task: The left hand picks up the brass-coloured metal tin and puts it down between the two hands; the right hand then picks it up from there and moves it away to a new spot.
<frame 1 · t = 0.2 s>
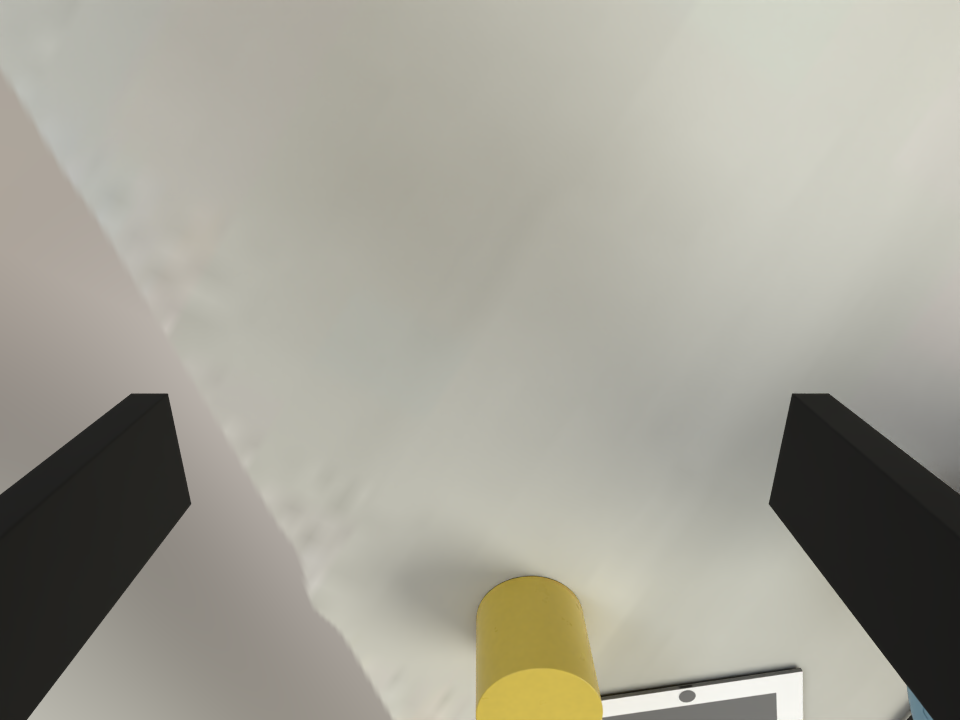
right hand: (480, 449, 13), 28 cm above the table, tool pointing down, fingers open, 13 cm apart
tin: (529, 618, 50), on the table
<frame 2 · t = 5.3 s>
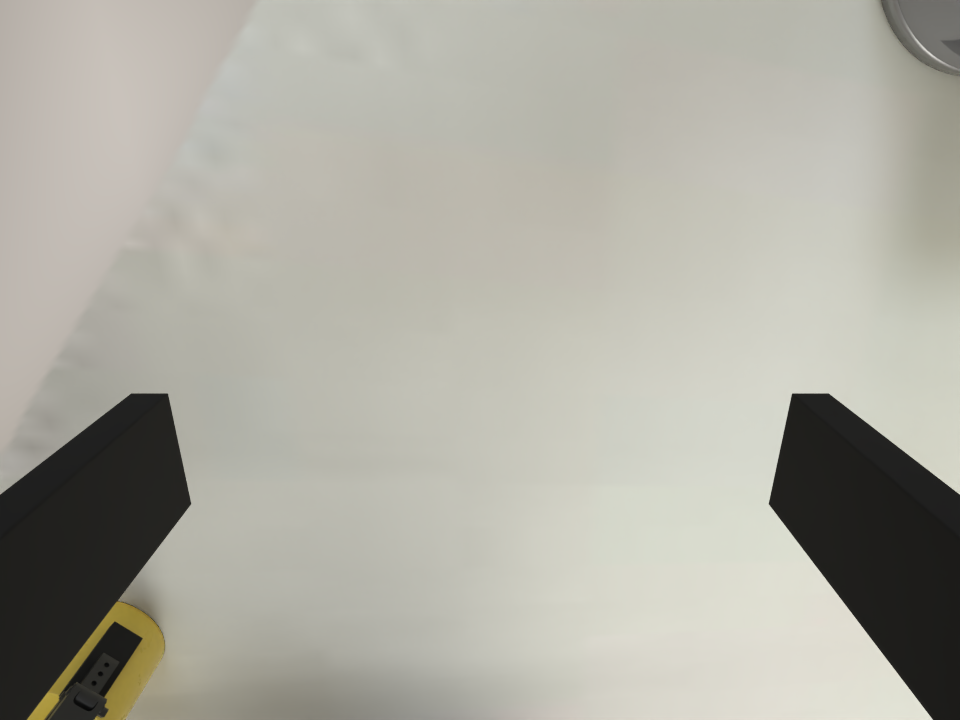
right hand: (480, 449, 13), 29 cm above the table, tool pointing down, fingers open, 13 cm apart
tin: (114, 638, 53), on the table, touching left hand
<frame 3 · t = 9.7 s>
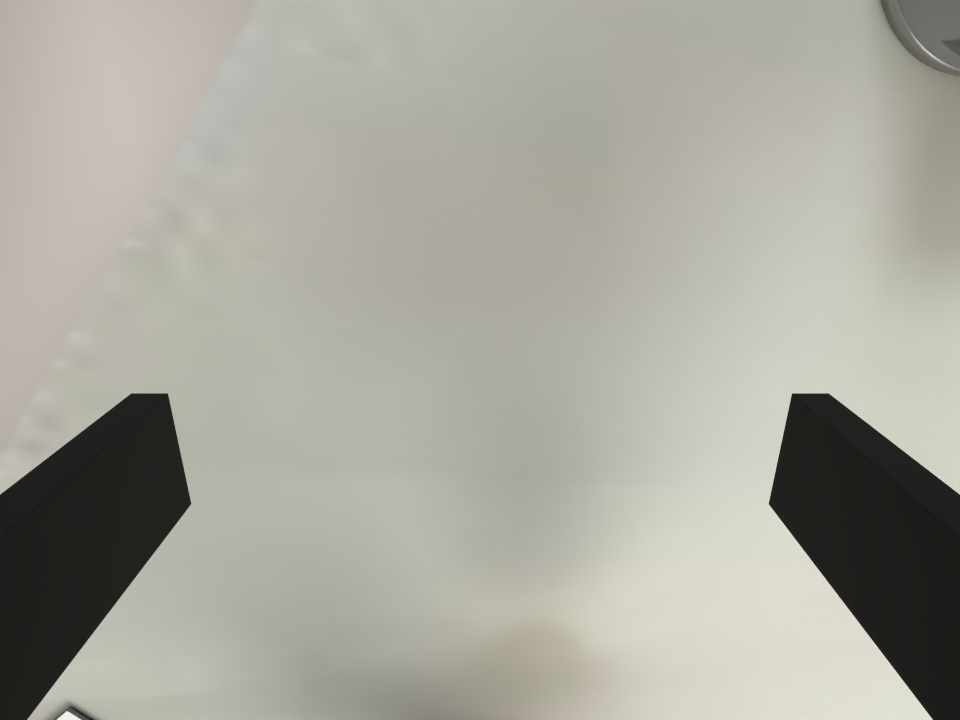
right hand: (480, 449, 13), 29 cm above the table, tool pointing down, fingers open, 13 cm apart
when the left hand's fingers open (4 cm above the table, at t = 14.0 s): tin drops 2 cm, on the table.
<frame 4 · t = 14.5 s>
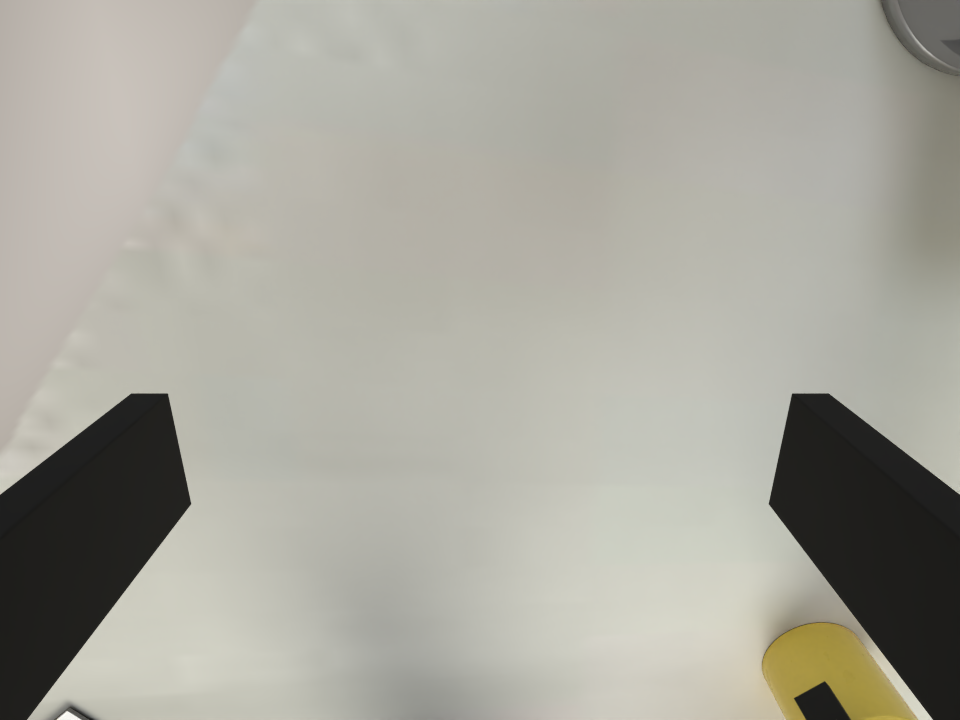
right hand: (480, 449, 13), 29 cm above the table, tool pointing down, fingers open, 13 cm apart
tin: (811, 660, 54), on the table
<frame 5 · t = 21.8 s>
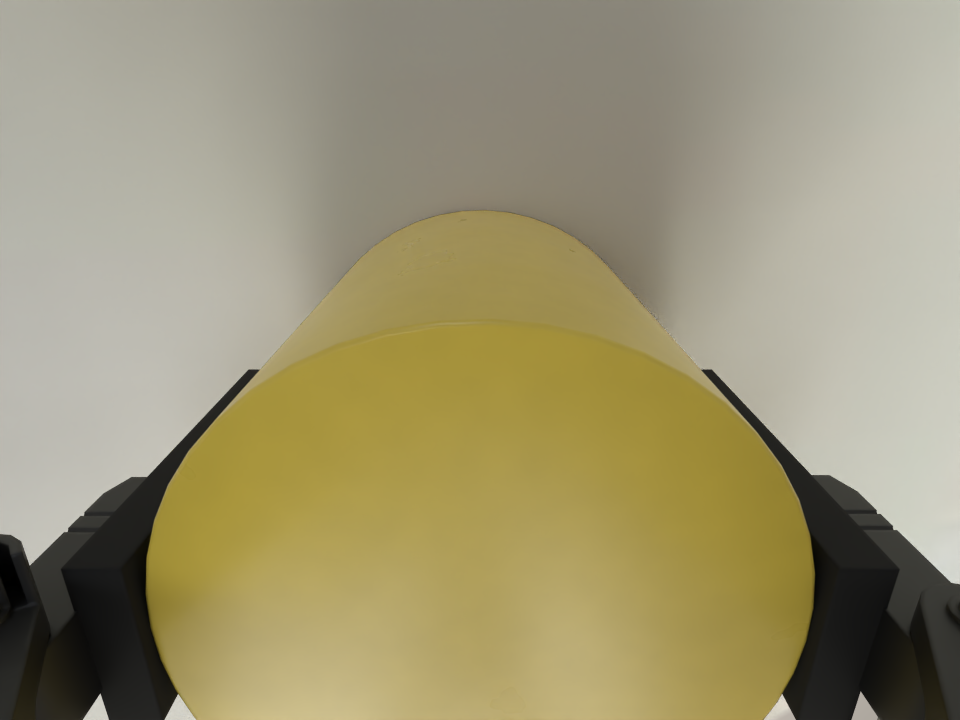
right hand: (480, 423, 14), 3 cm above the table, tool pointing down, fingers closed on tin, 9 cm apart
tin: (480, 376, 16), on the table, touching right hand
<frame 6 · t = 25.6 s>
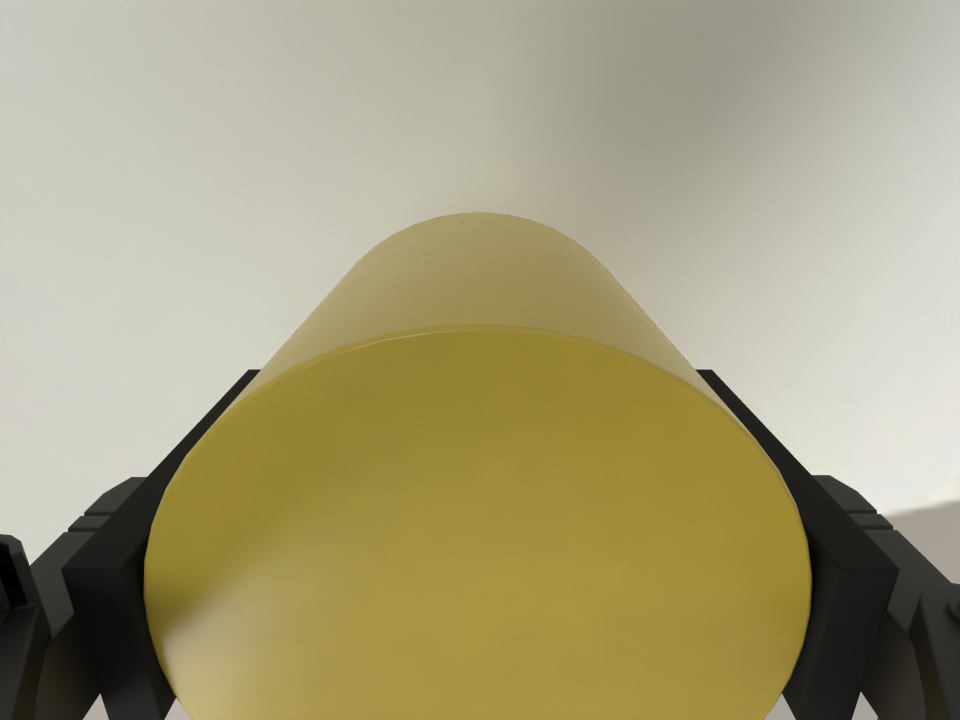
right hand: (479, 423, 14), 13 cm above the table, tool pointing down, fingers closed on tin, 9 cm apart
tin: (478, 378, 16), point 10 cm above the table, touching right hand
when the right hand's fingers open (4 cm above the table, at t = 29.7 s): tin drops 2 cm, on the table.
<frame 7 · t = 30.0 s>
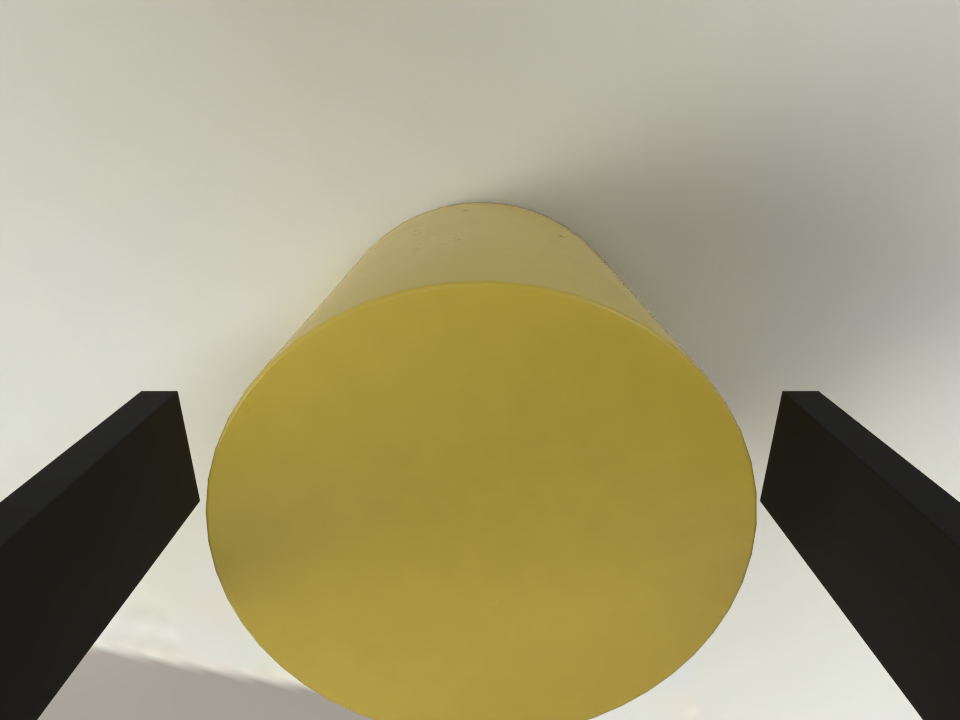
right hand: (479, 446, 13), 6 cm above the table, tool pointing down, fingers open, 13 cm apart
tin: (480, 353, 18), on the table
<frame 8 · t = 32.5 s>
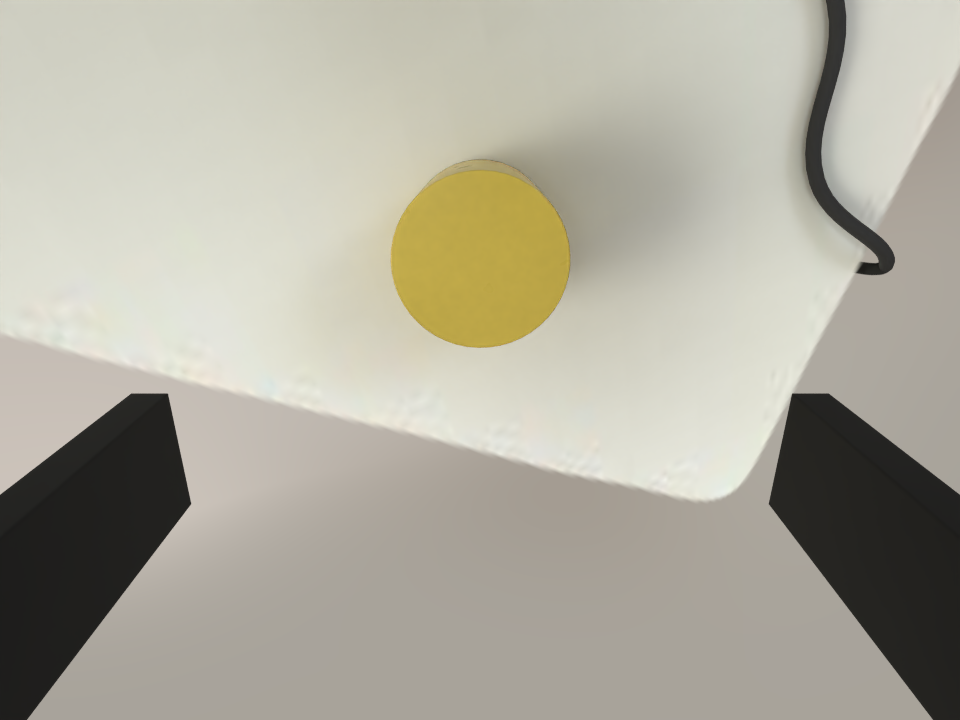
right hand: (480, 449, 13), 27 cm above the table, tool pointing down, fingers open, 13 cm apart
tin: (480, 233, 38), on the table
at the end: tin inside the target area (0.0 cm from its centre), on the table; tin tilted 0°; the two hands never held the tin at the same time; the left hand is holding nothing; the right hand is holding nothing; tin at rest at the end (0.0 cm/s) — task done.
